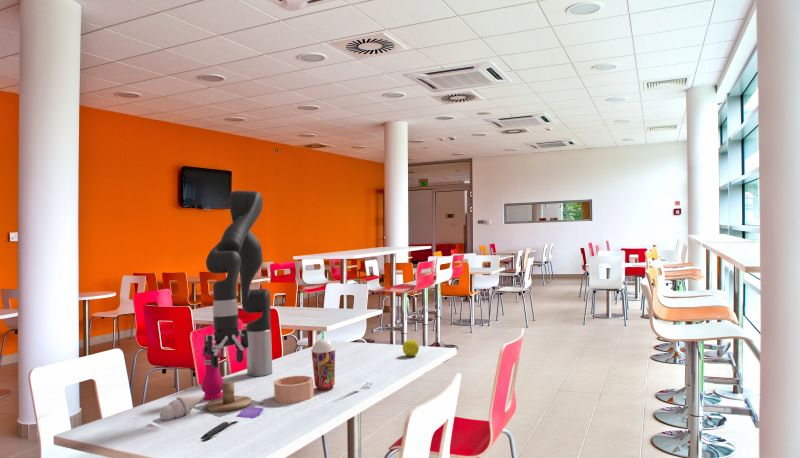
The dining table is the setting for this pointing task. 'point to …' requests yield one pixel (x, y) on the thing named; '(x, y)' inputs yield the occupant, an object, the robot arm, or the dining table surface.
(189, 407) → the ice cream cone
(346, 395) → the fork
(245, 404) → the lid
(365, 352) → the dining table surface
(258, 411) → the spatula
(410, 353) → the tennis ball
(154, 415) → the dining table surface
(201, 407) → the mat
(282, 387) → the bowl
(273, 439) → the dining table surface
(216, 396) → the pepper mill
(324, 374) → the smoothie
